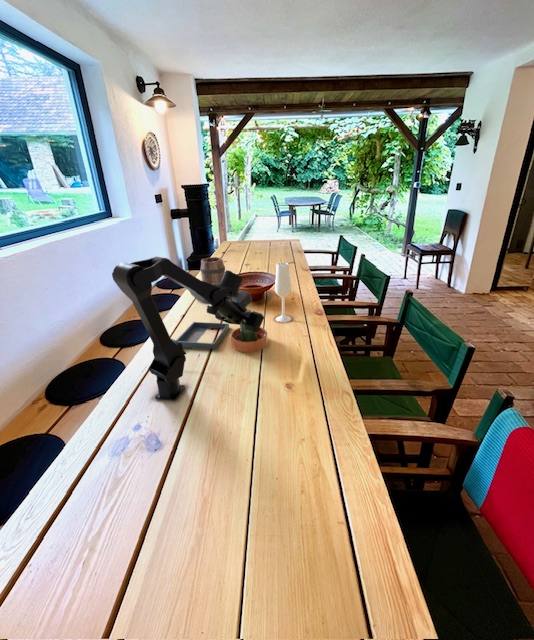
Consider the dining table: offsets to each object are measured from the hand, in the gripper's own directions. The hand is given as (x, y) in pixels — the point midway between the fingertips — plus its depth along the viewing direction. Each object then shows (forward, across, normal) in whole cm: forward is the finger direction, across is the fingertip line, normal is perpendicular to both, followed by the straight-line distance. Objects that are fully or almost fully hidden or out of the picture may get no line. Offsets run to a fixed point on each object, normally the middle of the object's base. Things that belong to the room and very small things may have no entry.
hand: (251, 326), depth 116 cm
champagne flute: (+22, +3, -12) cm, 25 cm away
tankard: (+25, +49, -15) cm, 57 cm away
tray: (0, +18, +10) cm, 21 cm away
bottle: (+4, 0, +6) cm, 7 cm away
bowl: (+4, 0, +6) cm, 7 cm away
